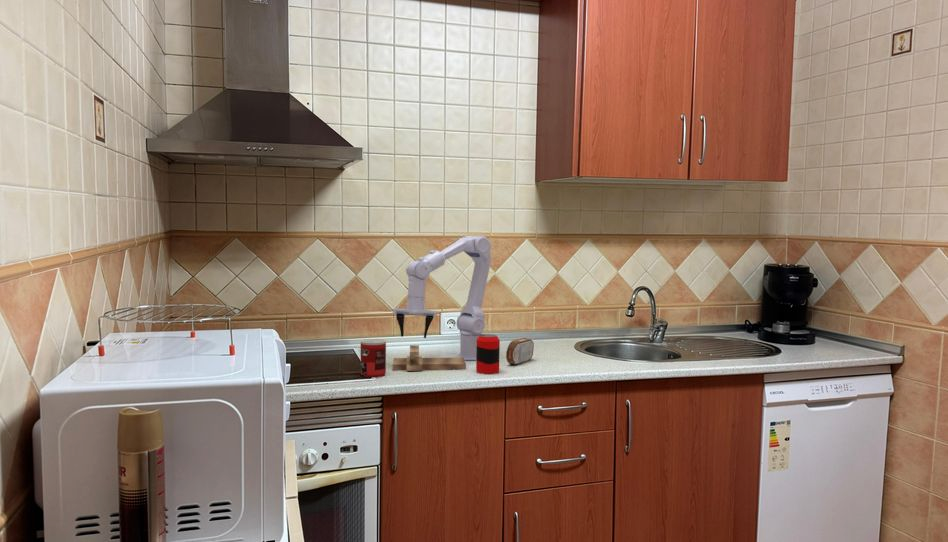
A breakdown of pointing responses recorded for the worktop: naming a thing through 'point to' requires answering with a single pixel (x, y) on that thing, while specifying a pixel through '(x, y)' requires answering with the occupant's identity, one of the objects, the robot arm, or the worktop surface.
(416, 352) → the wooden block
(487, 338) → the soda can
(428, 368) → the board
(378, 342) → the canned food
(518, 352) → the tin
